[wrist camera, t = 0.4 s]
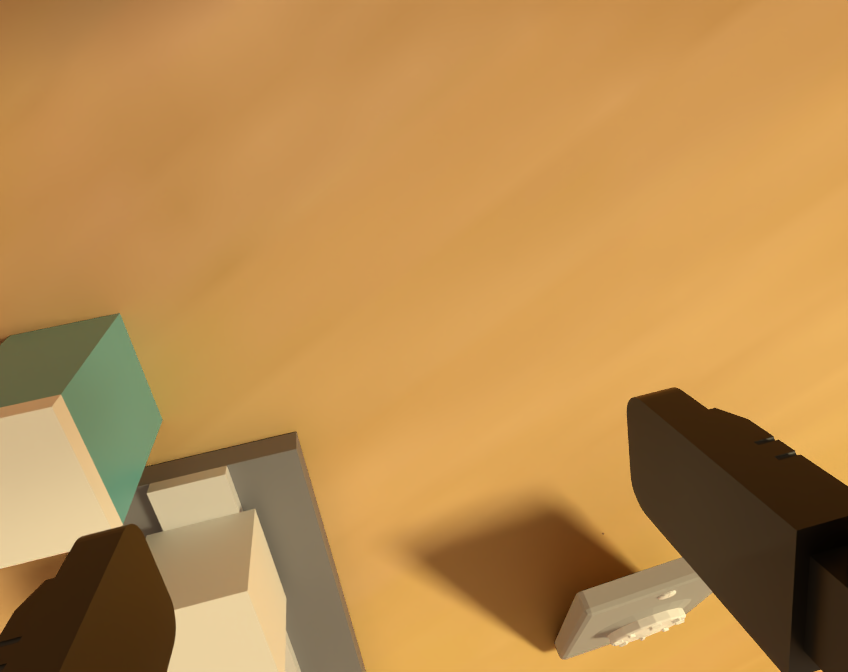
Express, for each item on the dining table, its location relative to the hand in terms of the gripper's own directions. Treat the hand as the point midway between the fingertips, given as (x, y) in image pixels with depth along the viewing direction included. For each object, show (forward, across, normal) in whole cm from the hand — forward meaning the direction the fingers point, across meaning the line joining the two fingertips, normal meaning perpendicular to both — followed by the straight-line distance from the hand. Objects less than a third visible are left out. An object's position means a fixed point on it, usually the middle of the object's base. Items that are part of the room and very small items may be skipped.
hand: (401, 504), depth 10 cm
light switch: (+20, -12, +22) cm, 32 cm away
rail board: (+20, +9, +19) cm, 29 cm away
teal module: (+18, +12, +3) cm, 22 cm away
